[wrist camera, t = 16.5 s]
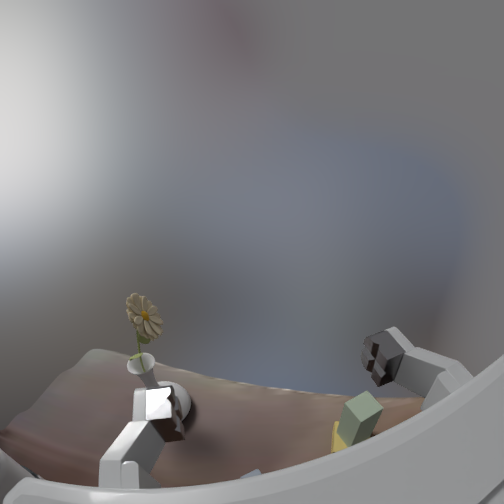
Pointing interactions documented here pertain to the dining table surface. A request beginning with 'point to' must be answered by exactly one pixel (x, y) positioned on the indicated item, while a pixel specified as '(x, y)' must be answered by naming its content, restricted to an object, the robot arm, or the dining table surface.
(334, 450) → the mustard brick
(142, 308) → the flower in vase
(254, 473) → the slate brick
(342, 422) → the green brick
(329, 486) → the robot arm
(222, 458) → the dining table surface
